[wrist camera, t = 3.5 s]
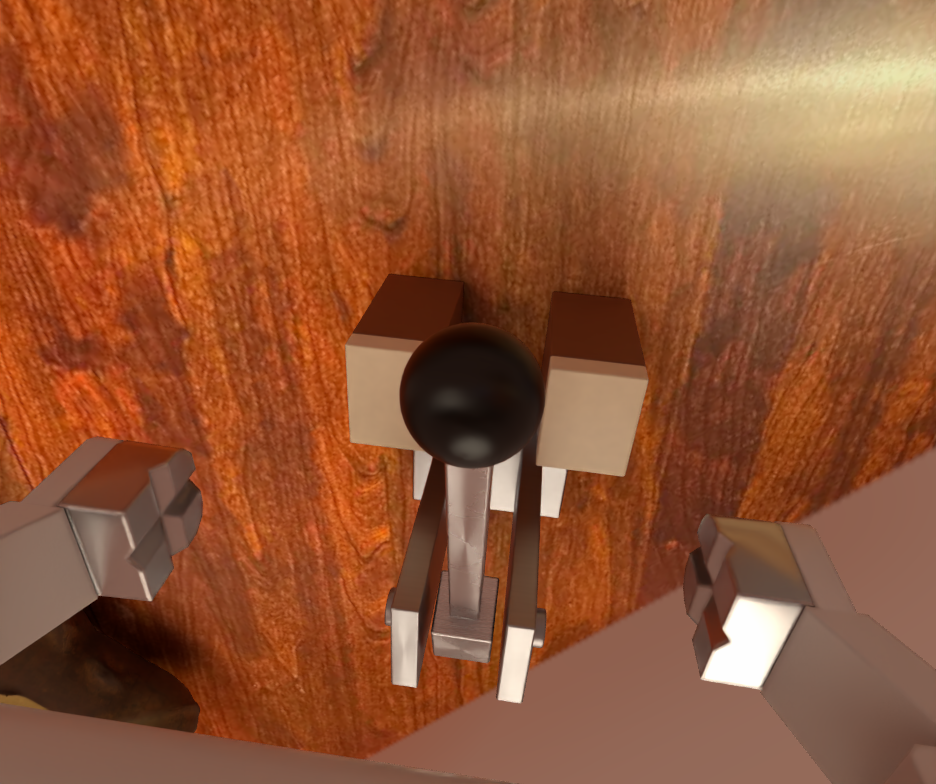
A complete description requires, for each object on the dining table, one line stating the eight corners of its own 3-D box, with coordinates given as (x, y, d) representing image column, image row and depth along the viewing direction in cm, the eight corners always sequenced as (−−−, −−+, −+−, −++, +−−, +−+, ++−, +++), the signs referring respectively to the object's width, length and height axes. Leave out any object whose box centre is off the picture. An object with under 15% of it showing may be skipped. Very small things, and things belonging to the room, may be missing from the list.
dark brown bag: (171, 719, 53) (117, 819, 46) (-67, 587, 47) (-166, 679, 40) (248, 662, 47) (199, 766, 40) (-13, 502, 41) (-118, 594, 35)
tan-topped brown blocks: (631, 298, 28) (649, 379, 22) (612, 384, 31) (624, 477, 25) (388, 273, 29) (344, 344, 23) (389, 358, 31) (349, 443, 25)
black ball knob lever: (410, 283, 13) (377, 401, 11) (557, 299, 13) (549, 421, 11) (434, 586, 26) (421, 662, 24) (506, 596, 26) (498, 673, 24)
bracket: (418, 379, 32) (345, 576, 21) (578, 398, 31) (587, 610, 20) (416, 485, 36) (353, 698, 25) (559, 503, 35) (557, 730, 24)
